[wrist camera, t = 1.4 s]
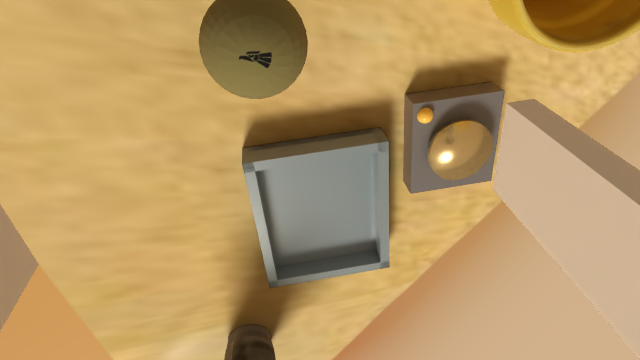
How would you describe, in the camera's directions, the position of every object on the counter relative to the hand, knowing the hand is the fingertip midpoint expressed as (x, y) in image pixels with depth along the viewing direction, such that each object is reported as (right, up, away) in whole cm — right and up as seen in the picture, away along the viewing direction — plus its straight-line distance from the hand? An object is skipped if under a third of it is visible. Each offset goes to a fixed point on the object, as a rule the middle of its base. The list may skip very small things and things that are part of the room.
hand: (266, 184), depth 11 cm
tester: (+12, +4, +24) cm, 27 cm away
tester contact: (+12, +3, +22) cm, 25 cm away
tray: (+1, -2, +26) cm, 26 cm away
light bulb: (-3, +11, +17) cm, 21 cm away
